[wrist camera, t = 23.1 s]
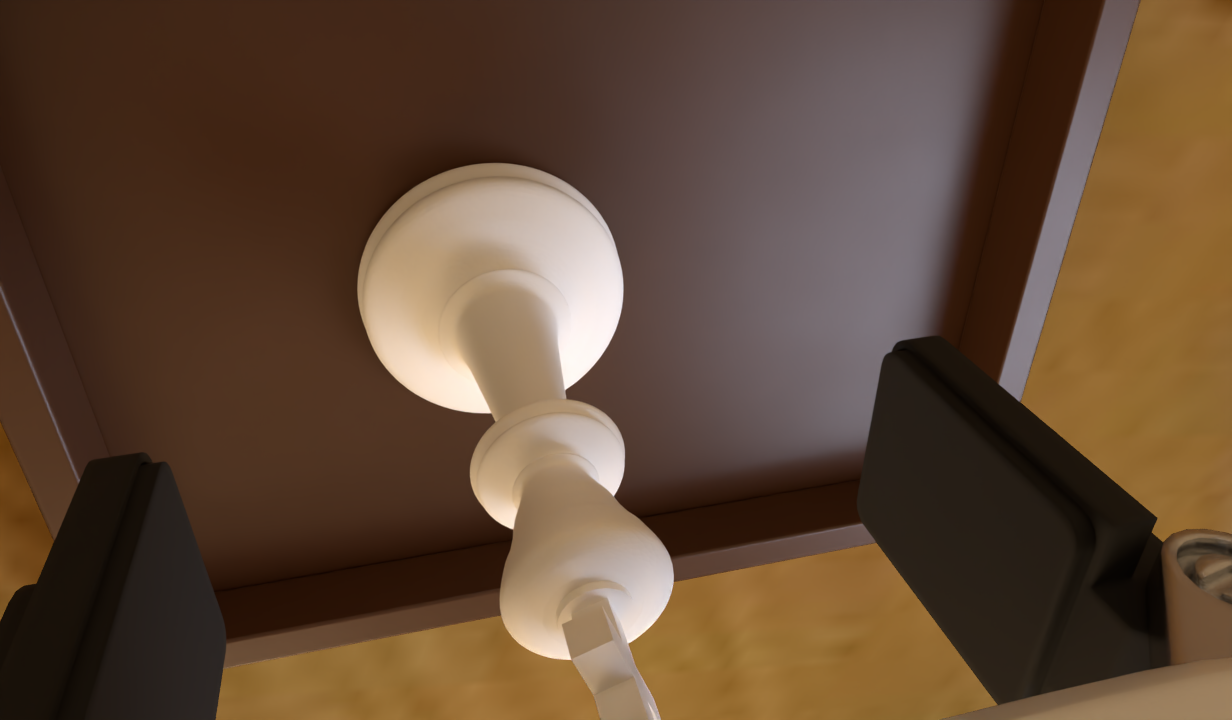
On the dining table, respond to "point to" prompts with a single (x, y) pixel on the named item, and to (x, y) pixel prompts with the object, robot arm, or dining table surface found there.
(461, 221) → the chess piece
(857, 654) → the dining table surface
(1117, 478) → the dining table surface
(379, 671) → the dining table surface
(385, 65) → the tray
